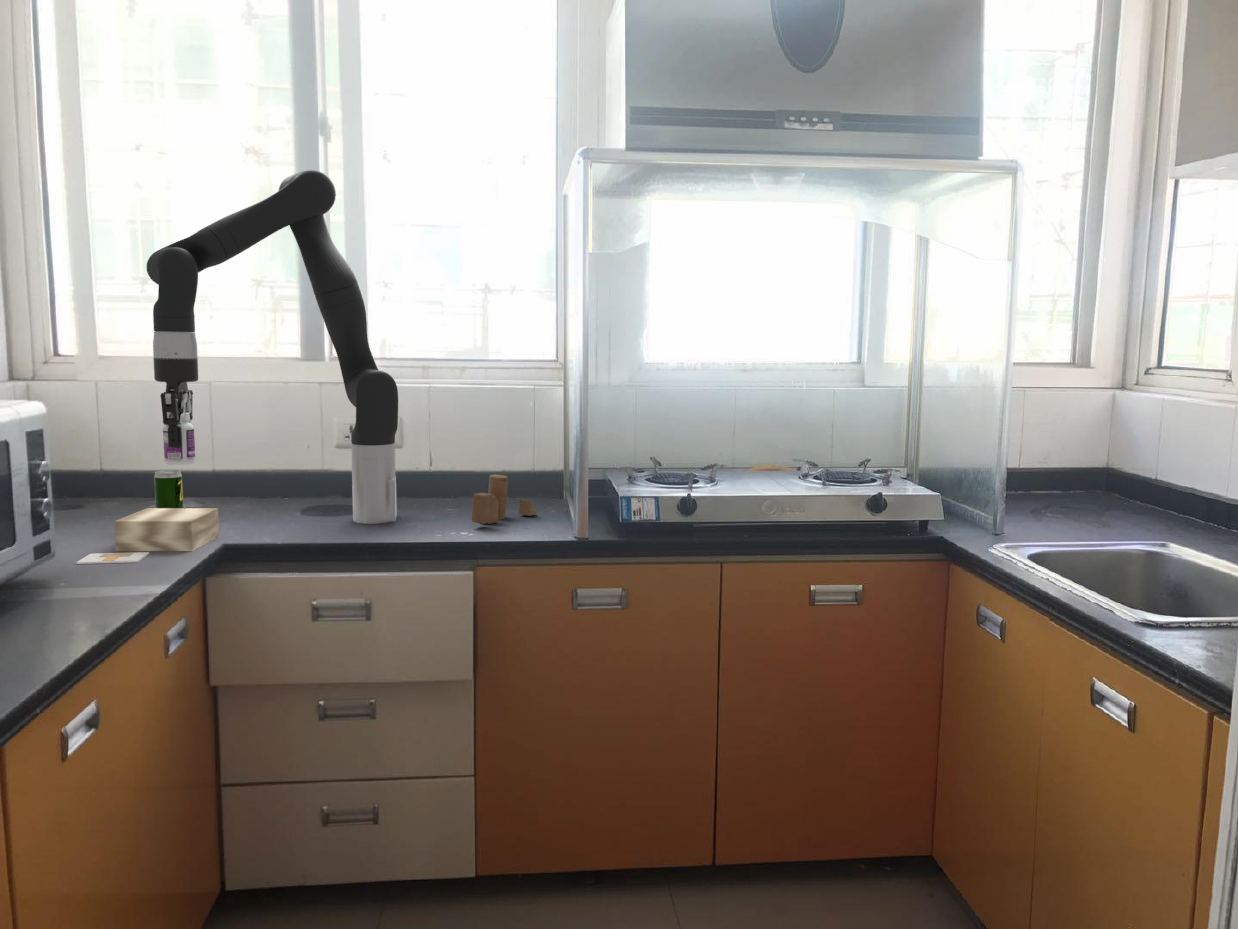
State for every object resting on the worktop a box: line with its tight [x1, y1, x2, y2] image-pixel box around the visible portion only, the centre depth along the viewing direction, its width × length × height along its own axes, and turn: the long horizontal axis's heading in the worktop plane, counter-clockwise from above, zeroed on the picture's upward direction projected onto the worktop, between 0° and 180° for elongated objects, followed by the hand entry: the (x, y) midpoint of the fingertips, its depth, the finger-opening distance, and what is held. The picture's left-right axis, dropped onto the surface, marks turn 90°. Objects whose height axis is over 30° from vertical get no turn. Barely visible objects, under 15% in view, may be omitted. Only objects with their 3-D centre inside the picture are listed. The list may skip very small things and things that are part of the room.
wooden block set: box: [471, 474, 538, 525], centre depth 204 cm, size 18×9×10 cm, turn 151°
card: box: [75, 551, 150, 565], centre depth 166 cm, size 10×7×1 cm
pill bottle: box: [162, 413, 196, 466], centre depth 175 cm, size 5×5×10 cm
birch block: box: [113, 507, 220, 552], centre depth 180 cm, size 14×14×6 cm
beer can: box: [153, 469, 185, 508], centre depth 194 cm, size 5×5×12 cm
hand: (179, 445), depth 175 cm, fingers closed on pill bottle, 5 cm apart
